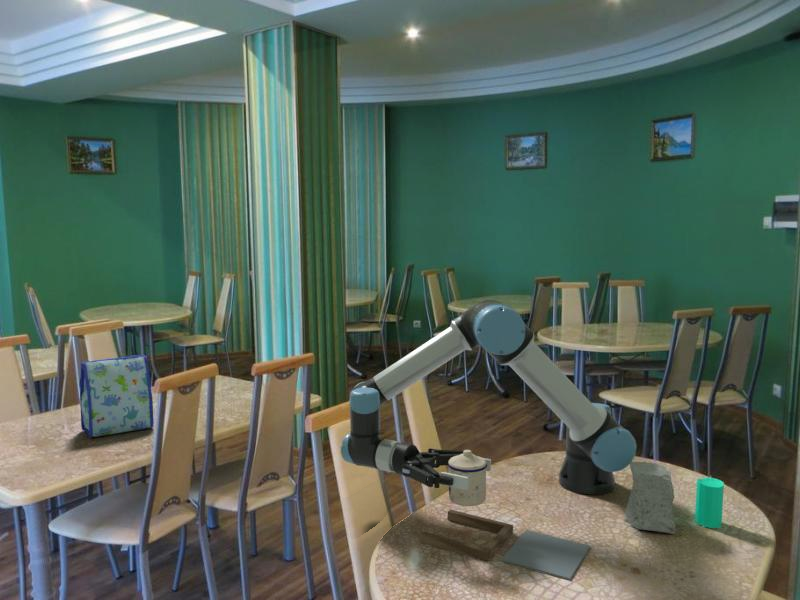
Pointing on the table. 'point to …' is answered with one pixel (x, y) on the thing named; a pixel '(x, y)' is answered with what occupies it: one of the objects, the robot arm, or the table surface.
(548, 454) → the table surface
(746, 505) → the table surface
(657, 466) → the decorative stone
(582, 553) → the slate mat
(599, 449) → the robot arm
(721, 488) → the candle
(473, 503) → the teacup with lid
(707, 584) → the table surface
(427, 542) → the walnut u-shaped frame
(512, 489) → the table surface
